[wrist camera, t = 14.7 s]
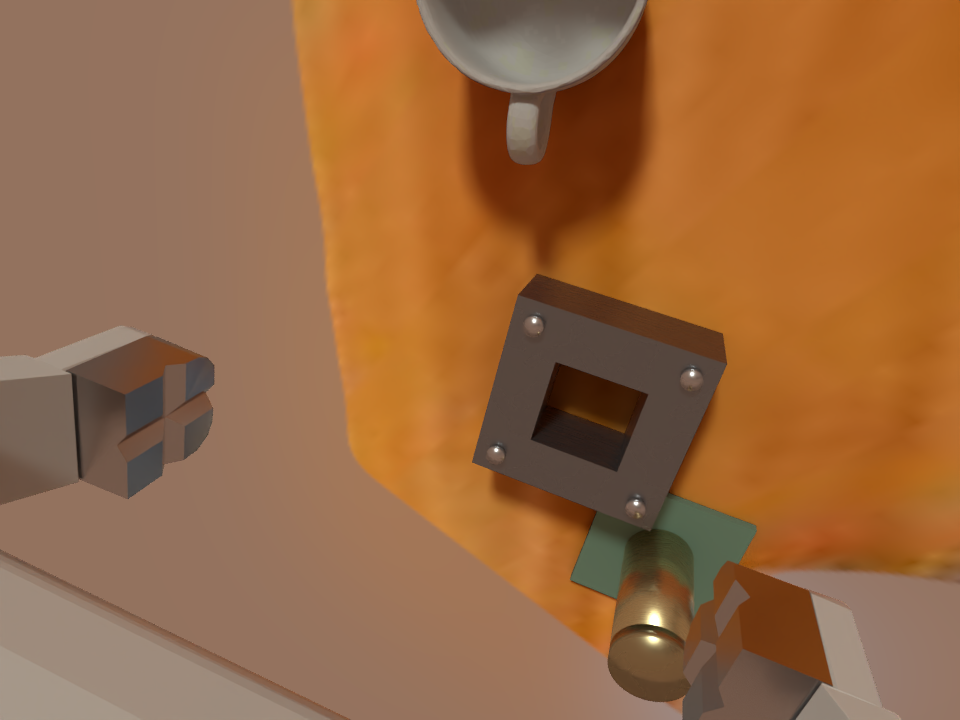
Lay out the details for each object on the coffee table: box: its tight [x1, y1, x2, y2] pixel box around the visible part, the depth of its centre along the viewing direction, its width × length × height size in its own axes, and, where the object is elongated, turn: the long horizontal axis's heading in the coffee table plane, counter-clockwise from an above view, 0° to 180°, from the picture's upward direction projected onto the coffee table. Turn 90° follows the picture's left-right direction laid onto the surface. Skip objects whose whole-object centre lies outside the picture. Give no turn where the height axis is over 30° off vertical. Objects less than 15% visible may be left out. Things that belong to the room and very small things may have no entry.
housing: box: [472, 274, 727, 531], centre depth 39 cm, size 12×12×6 cm
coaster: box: [570, 493, 757, 617], centre depth 45 cm, size 10×10×1 cm
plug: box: [608, 529, 694, 702], centre depth 40 cm, size 5×5×10 cm
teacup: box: [417, 0, 647, 165], centre depth 31 cm, size 14×11×8 cm
